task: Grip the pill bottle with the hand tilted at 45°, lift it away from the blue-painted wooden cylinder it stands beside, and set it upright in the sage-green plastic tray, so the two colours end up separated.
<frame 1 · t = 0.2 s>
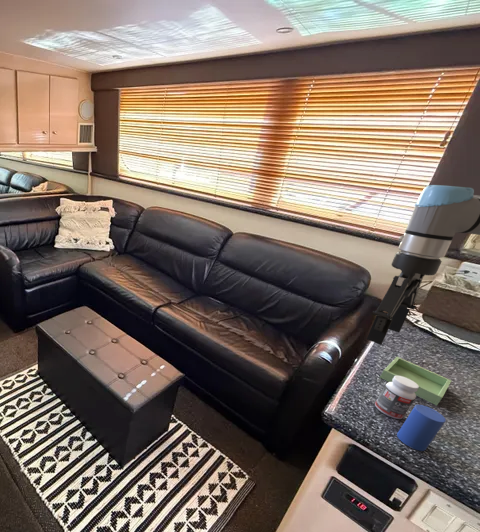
hand: (383, 335, 79), 21 cm above the counter, tool pointing down, fingers open, 13 cm apart
sage tray: (412, 382, 97), on the counter
blue cylinder: (410, 441, 75), on the counter
pill bottle: (387, 411, 84), on the counter
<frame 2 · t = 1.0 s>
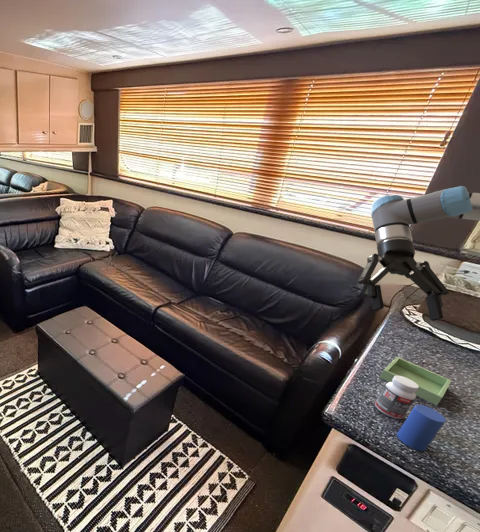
hand: (407, 314, 84), 24 cm above the counter, tool tilted 45°, fingers open, 13 cm apart
nothing on the counter moved.
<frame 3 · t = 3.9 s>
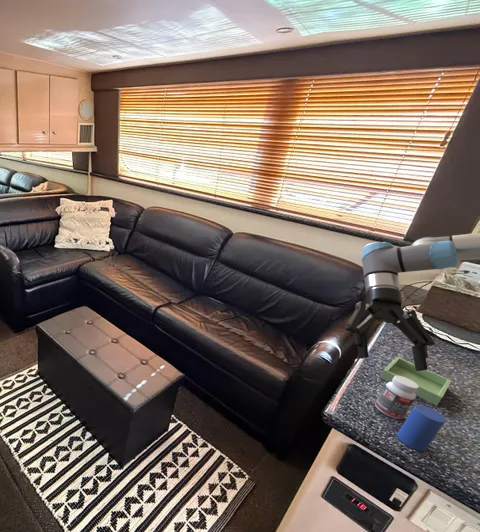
hand: (392, 363, 85), 11 cm above the counter, tool tilted 45°, fingers open, 13 cm apart
nothing on the counter moved.
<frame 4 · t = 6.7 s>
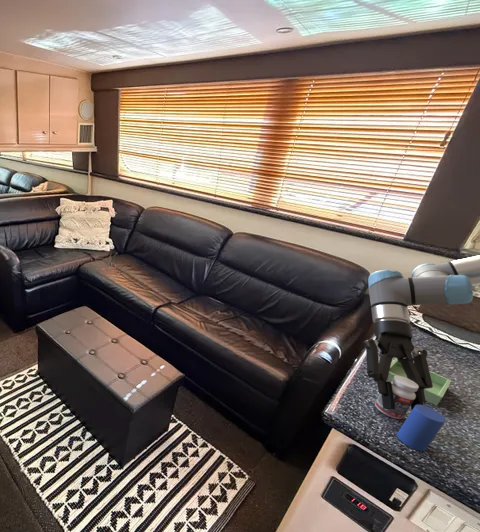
hand: (403, 411, 79), 3 cm above the counter, tool tilted 45°, fingers closed on pill bottle, 6 cm apart
pill bottle: (387, 411, 84), on the counter, touching gripper
everything else where it was.
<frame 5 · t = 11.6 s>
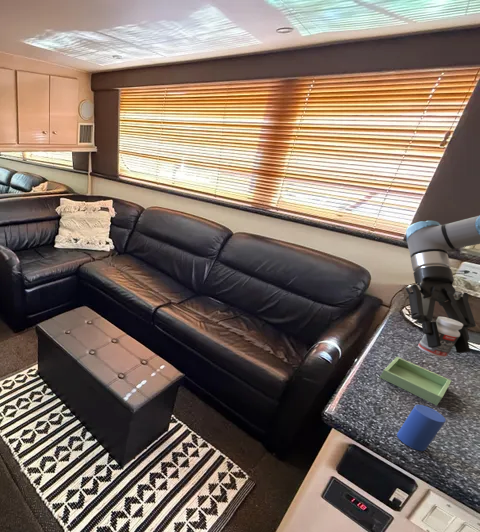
hand: (448, 349, 83), 17 cm above the counter, tool tilted 45°, fingers closed on pill bottle, 6 cm apart
pill bottle: (431, 352, 88), point 14 cm above the counter, touching gripper
everything else where it was.
when the fingers open (4 cm above the counter, at t = 16.5 s): pill bottle stays where it is, resting on sage tray.
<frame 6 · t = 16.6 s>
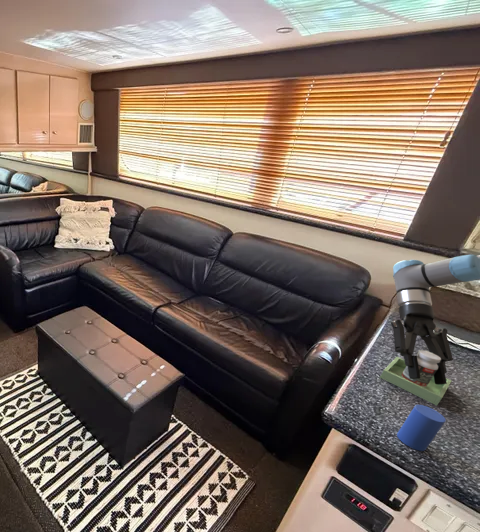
hand: (427, 381, 92), 4 cm above the counter, tool tilted 45°, fingers open, 6 cm apart
pill bottle: (412, 381, 97), resting on sage tray
everything else where it was.
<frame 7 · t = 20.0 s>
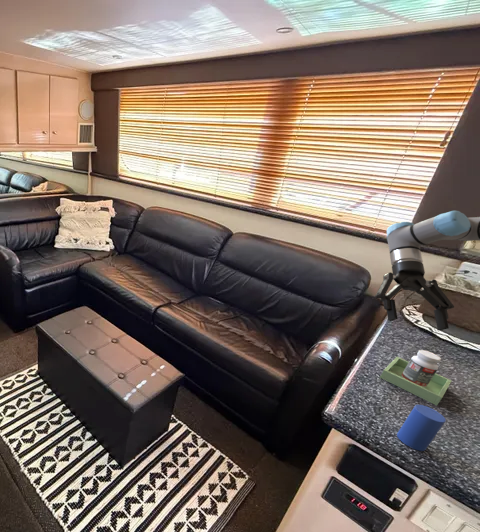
hand: (417, 324, 99), 15 cm above the counter, tool tilted 45°, fingers open, 13 cm apart
nothing on the counter moved.
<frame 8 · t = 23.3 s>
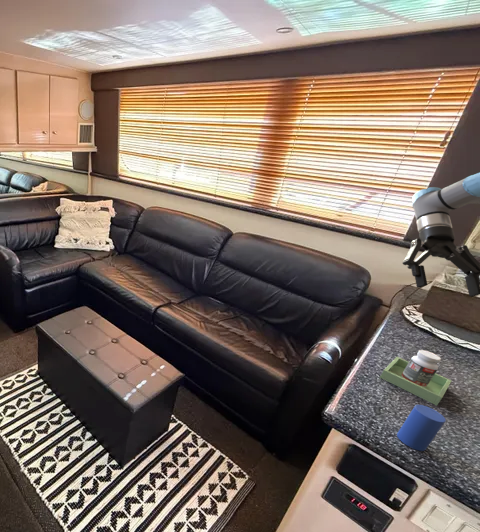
hand: (448, 290, 95), 28 cm above the counter, tool tilted 45°, fingers open, 13 cm apart
nothing on the counter moved.
at the end: pill bottle inside the target area in the sage tray (0.1 cm from its centre), point 0.2 cm above the sage tray's base; pill bottle tilted 0°; blue cylinder moved 0.0 cm from its start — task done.
